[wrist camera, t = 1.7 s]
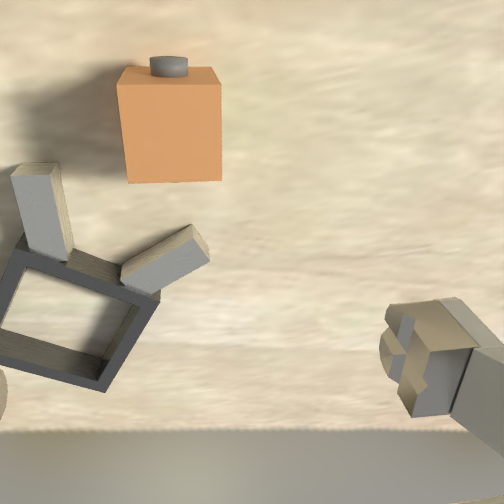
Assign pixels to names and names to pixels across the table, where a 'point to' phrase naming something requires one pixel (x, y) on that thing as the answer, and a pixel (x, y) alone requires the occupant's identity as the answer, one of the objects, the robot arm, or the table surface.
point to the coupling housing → (83, 280)
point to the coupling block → (171, 122)
